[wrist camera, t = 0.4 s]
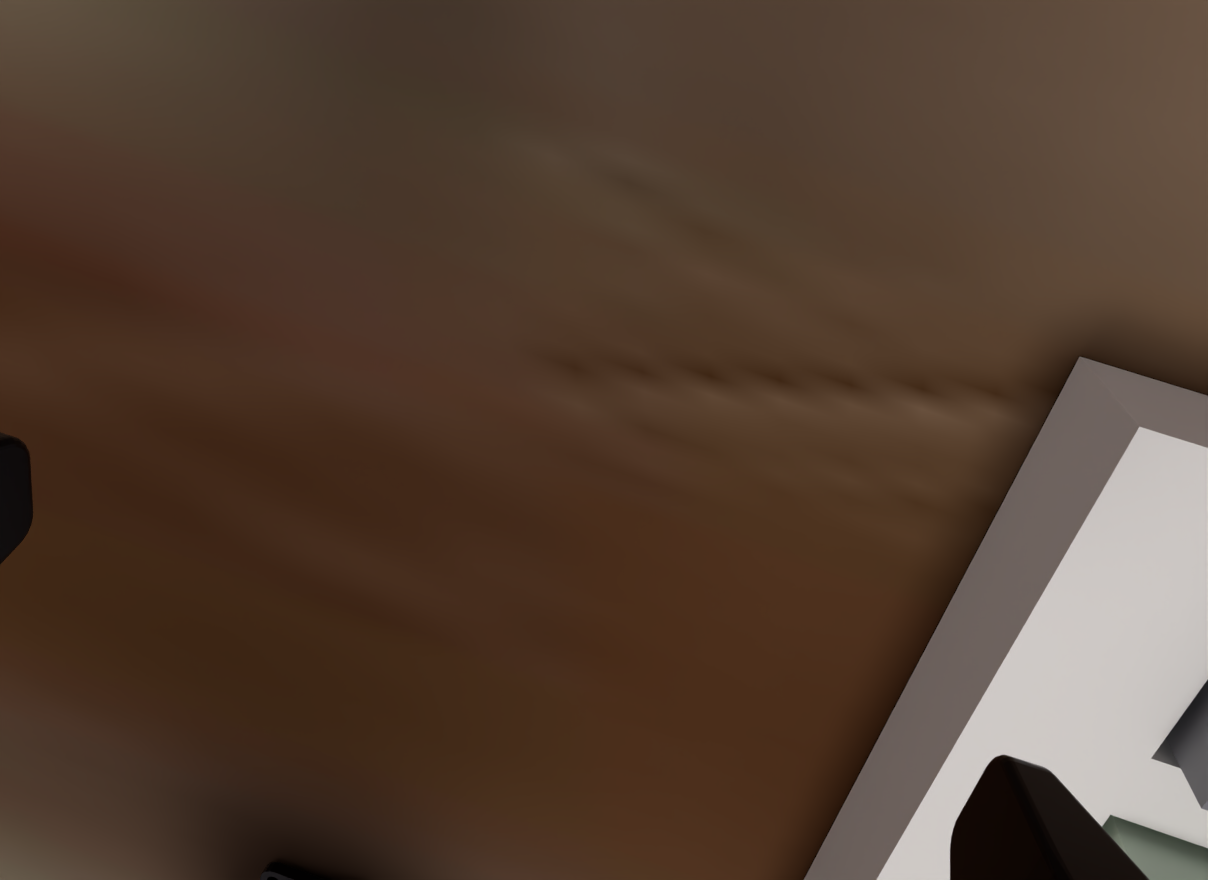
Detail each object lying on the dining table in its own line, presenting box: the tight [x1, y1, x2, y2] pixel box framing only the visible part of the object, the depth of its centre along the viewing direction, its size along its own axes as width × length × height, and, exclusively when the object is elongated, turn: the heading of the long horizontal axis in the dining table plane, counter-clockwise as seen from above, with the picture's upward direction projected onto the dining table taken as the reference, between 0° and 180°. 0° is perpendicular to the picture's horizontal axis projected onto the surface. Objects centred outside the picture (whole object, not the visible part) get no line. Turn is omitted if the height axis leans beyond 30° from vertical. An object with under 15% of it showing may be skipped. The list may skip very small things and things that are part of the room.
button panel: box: [804, 357, 1208, 880], centre depth 22 cm, size 22×13×4 cm, turn 165°
